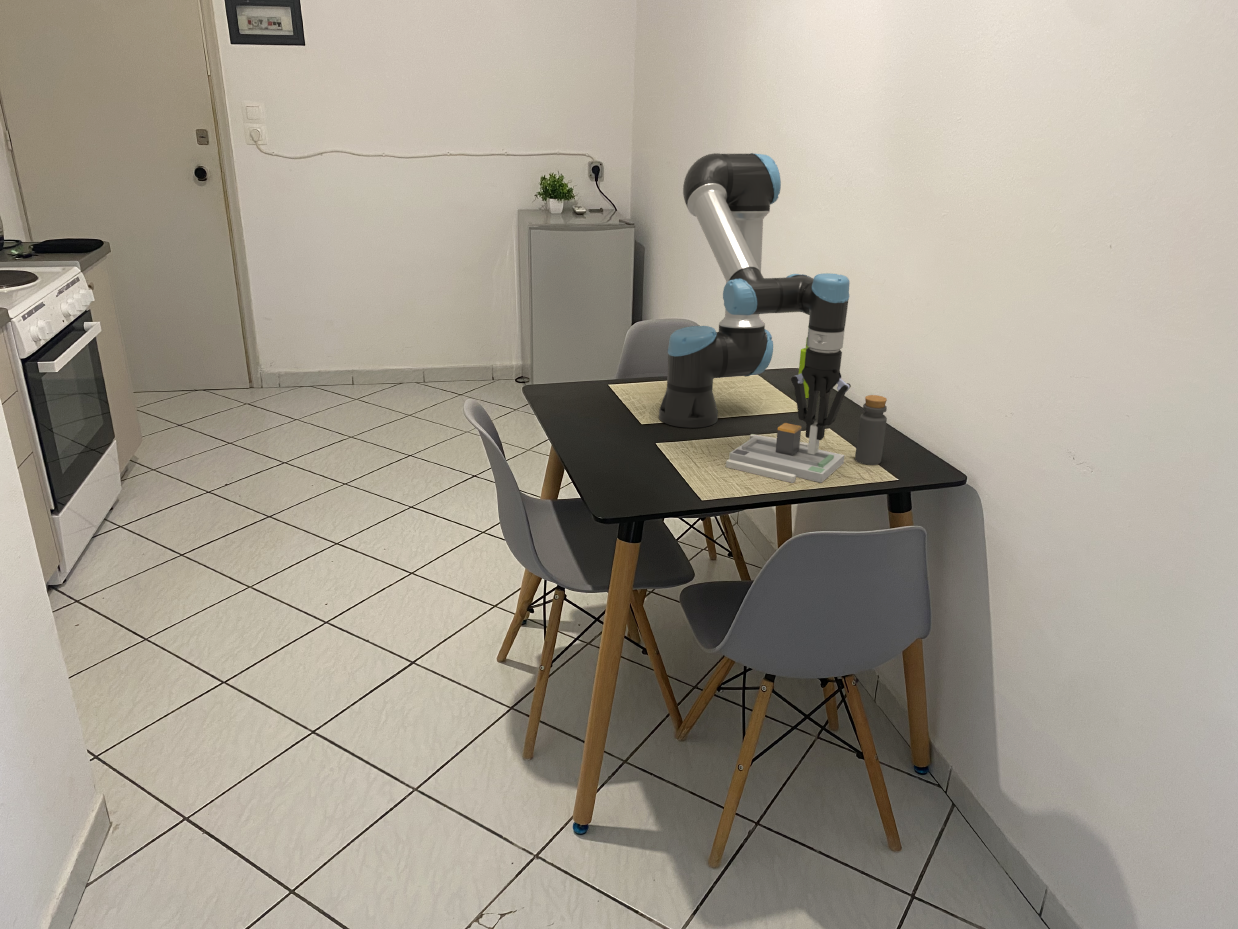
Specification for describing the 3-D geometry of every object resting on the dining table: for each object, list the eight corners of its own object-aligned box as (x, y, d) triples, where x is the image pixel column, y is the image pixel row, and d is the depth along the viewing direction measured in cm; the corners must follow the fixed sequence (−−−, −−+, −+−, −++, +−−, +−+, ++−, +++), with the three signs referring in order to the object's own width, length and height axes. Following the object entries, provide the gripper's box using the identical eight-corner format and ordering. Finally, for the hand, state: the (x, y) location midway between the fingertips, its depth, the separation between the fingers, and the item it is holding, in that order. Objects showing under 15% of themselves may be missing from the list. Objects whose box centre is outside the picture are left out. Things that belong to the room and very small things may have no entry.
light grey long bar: (725, 466, 197) (726, 461, 197) (728, 465, 199) (728, 459, 198) (792, 483, 189) (793, 476, 189) (795, 480, 191) (796, 474, 190)
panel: (729, 461, 201) (729, 449, 200) (754, 443, 212) (755, 432, 211) (821, 482, 190) (822, 470, 189) (843, 463, 201) (844, 451, 200)
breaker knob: (775, 452, 199) (777, 427, 197) (782, 447, 202) (784, 422, 200) (792, 456, 197) (794, 430, 195) (799, 451, 201) (801, 426, 198)
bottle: (876, 467, 199) (885, 403, 194) (851, 461, 202) (859, 398, 196) (884, 459, 204) (892, 397, 198) (859, 454, 207) (867, 392, 201)
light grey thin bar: (749, 441, 213) (749, 435, 213) (751, 439, 215) (751, 433, 214) (806, 450, 208) (807, 445, 208) (808, 448, 209) (808, 443, 209)
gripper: (788, 347, 188) (778, 450, 197) (848, 357, 182) (835, 463, 191) (801, 340, 194) (791, 441, 203) (859, 349, 188) (846, 453, 196)
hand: (812, 452), depth 197 cm, fingers closed
